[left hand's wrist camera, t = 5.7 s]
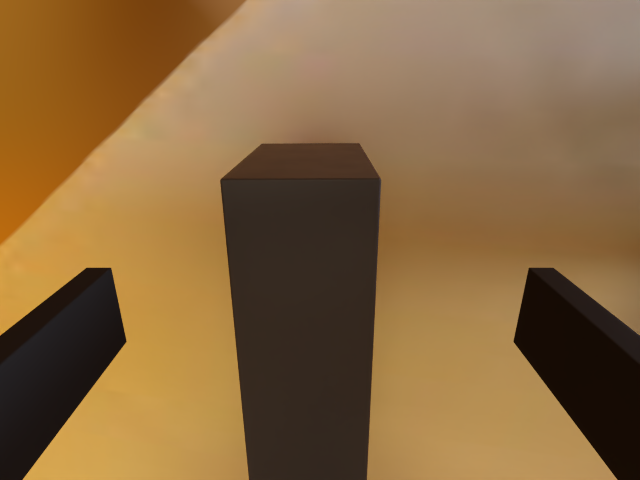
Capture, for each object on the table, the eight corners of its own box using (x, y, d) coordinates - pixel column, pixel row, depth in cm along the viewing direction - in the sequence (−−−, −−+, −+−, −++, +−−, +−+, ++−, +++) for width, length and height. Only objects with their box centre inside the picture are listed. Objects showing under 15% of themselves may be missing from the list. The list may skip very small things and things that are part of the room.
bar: (261, 143, 22) (219, 179, 13) (359, 143, 21) (381, 178, 13) (285, 570, 34) (272, 727, 26) (347, 570, 34) (355, 728, 26)
